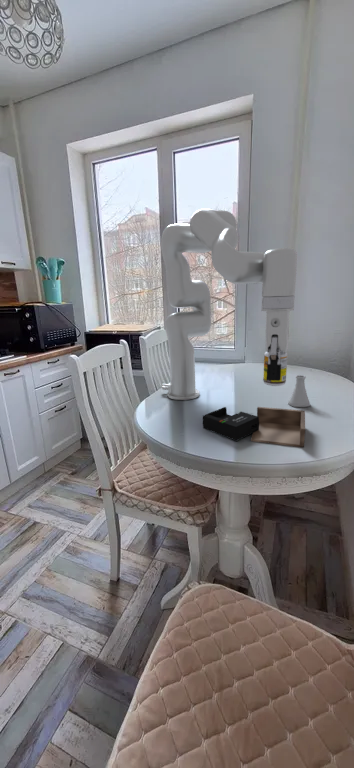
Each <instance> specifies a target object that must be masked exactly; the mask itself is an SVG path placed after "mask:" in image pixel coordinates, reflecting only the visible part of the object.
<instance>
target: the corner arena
mask: <svg viewBox="0 0 354 768" xmlns="http://www.w3.org/2000/svg"><path fill="white" fill-rule="evenodd" d="M256 416H258V417H259V430H257V431H255V432H253V433H252V435H251V439H250V441H251V442H255V443H263V444H271V445H280V446H289V447H297V448H304V447H305V439H306V438H305V437H306V411H305V410H303V409H302V410H300V409H289V408H277V407H276V408H275V407H264V406H257V408H256Z"/></svg>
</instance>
